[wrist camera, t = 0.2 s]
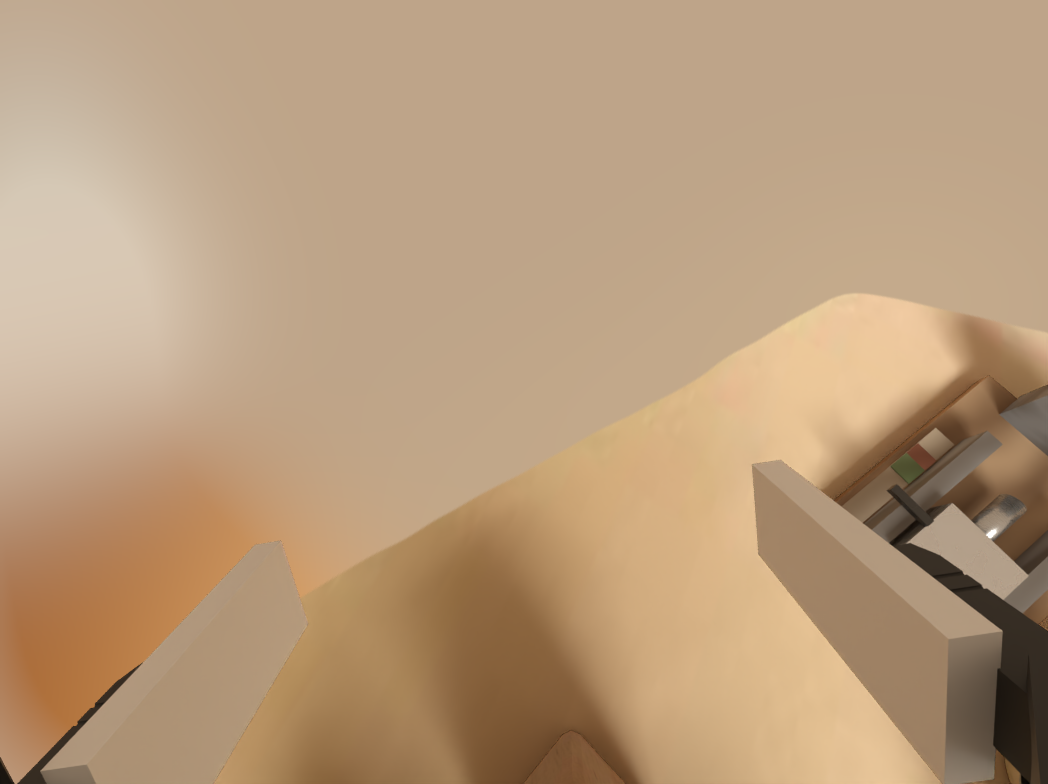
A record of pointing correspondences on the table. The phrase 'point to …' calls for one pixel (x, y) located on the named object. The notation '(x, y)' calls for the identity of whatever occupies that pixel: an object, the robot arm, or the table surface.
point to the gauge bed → (973, 477)
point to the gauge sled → (967, 538)
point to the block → (573, 764)
